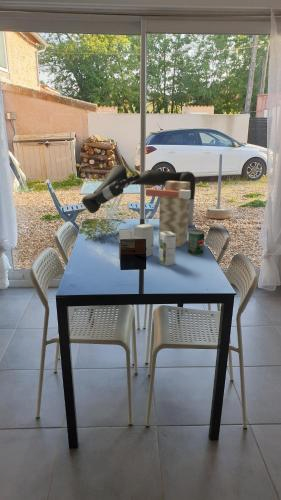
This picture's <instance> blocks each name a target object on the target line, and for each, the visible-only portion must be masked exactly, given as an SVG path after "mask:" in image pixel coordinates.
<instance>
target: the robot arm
mask: <svg viewBox="0 0 281 500" xmlns="http://www.w3.org/2000/svg"><path fill="white" fill-rule="evenodd" d="M127 174H128V173H127V168H126V167H125V165H121V164H117V165H114V166H113V167H112V168H111V170H110V172H109V173H108V174H107V175H106V177H105V179H104V180H103V182H102V183H100V185H99V186H98V187H97V188H96V189H95V190H94V191H93V193H90V194H87V195H85V196H83V197H82V199H81V203H82V205H83V206H84V207H85V208H86V210H87V211H88V212H89V214H95V213H96V212H98V211H99V210H100V208H101V205H103V204H105V203H107V202H110V201H111V200H113V199H115V198H117V197H118V196H120V195H122V194H123V193H124V189H126V188H128V187H129V186H132V185H133V186H135V185H136V186H137V185H139V186H140V185H141V186H155V187H156V186H165V182H166V181H183V182H190V190H191V195H190V199H189V218H188V228H190V227H189V226H191V227H193V226H194V214H195V213H194V209H195V194H196V177H195V175H194V174H193V172H192V171H175V172H174V171H167V170H166V171H165V170H157V169H156V170H155V169H147V170H144V171H142V172H141V173H139V174H138V173H137V174H136V175H127Z"/></svg>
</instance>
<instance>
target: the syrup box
mask: <svg viewBox="0 0 281 500" xmlns="http://www.w3.org/2000/svg"><path fill="white" fill-rule="evenodd" d="M175 243H176V234H174V233H172V232H171V231H164V232H160V243H159V242H158V245H159V246H158V247H159V249H158V250H159V251H158V263H160V265H162V266H163V267H165V266H172V265H175V257H176V246H175Z"/></svg>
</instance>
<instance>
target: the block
mask: <svg viewBox="0 0 281 500" xmlns="http://www.w3.org/2000/svg"><path fill="white" fill-rule="evenodd" d="M190 195H191V190H182V189H181V190H179V191H172V190H165V189H157V188H146V189H145V196H146V197H156V198H158V197H159V198H160V196H167V197H180V198H183V199H190Z"/></svg>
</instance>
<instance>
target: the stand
mask: <svg viewBox="0 0 281 500" xmlns="http://www.w3.org/2000/svg"><path fill="white" fill-rule="evenodd" d="M164 186H165V188H164V190H172V191H179V190H181V189H182V190H190V182H183V181H166V182H165V185H164ZM158 217H159V221H158V222H159V225H158V226H159V227H158V244H159V243H160V232H164V231H171V232H172V233H174V234H176V243H175V248H181V247H183V245H185V244H186V243H187V242H188V236H189V227H188V218H189V199H183V198H180V197H167V196H160V197H159V216H158Z"/></svg>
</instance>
